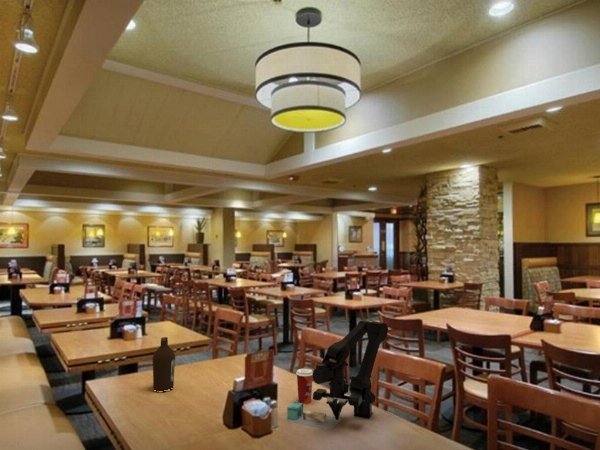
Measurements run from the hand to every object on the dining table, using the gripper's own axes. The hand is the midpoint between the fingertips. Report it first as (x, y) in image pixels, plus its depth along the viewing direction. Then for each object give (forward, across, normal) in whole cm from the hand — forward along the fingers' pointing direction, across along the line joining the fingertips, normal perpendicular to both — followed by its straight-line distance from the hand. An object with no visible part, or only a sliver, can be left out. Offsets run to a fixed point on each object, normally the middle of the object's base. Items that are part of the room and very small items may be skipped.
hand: (337, 419), depth 164 cm
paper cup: (+2, +21, -17) cm, 27 cm away
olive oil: (+2, +91, -5) cm, 91 cm away
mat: (+2, +10, 0) cm, 10 cm away
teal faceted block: (+2, +18, 0) cm, 18 cm away
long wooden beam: (+2, +10, 0) cm, 10 cm away
